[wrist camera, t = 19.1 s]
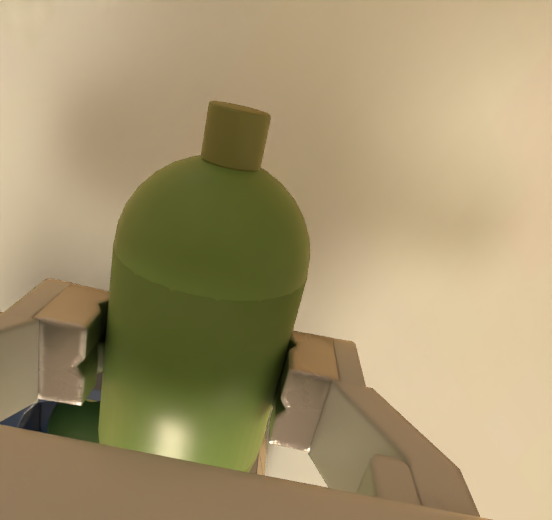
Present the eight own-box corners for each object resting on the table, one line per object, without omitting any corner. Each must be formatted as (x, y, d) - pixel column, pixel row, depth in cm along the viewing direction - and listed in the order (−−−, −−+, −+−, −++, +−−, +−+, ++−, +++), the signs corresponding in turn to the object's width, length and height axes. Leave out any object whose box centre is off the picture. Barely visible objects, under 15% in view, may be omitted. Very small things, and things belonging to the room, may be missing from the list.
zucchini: (90, 345, 25) (28, 385, 21) (154, 372, 24) (101, 419, 20) (80, 476, 28) (26, 531, 24) (135, 504, 27) (88, 566, 23)
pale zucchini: (164, 83, 9) (82, 81, 6) (336, 123, 9) (360, 146, 6) (127, 411, 13) (61, 536, 9) (254, 437, 13) (238, 570, 9)
